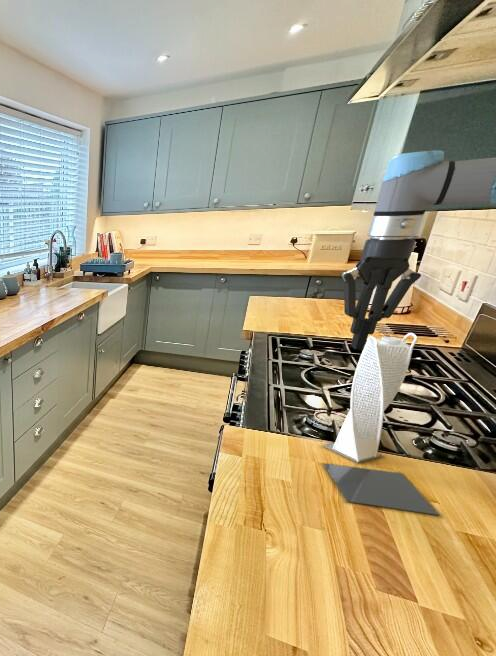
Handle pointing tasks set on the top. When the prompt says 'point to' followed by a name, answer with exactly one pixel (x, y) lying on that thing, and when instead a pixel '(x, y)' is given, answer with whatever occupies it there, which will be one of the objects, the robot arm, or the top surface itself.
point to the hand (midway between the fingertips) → (356, 347)
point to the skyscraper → (372, 396)
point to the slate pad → (378, 489)
